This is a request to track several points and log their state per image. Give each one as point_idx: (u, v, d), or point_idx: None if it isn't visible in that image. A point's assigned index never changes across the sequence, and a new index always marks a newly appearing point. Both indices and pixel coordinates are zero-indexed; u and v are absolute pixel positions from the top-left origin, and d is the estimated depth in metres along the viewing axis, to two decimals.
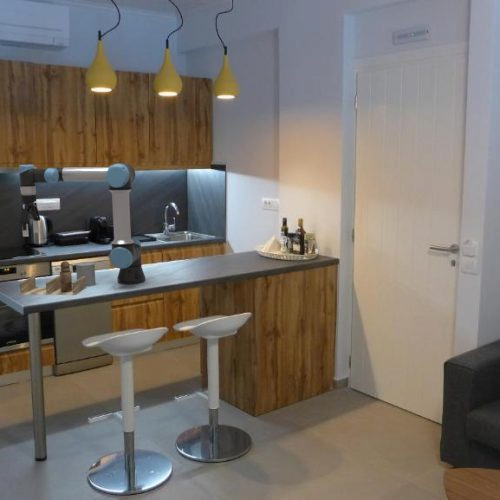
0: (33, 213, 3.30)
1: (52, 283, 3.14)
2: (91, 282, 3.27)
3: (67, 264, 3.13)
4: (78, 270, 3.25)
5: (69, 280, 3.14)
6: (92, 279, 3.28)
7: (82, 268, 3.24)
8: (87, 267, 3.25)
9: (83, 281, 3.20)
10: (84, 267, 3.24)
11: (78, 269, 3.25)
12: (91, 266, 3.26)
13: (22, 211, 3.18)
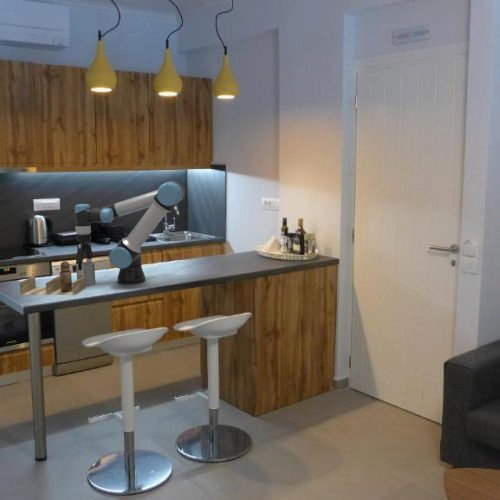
0: (87, 251, 3.31)
1: (52, 283, 3.14)
2: (91, 282, 3.27)
3: (67, 264, 3.13)
4: None
5: (69, 280, 3.14)
6: (92, 279, 3.28)
7: None
8: (87, 267, 3.25)
9: (83, 281, 3.20)
10: (84, 267, 3.24)
11: None
12: (91, 266, 3.26)
13: (78, 251, 3.20)
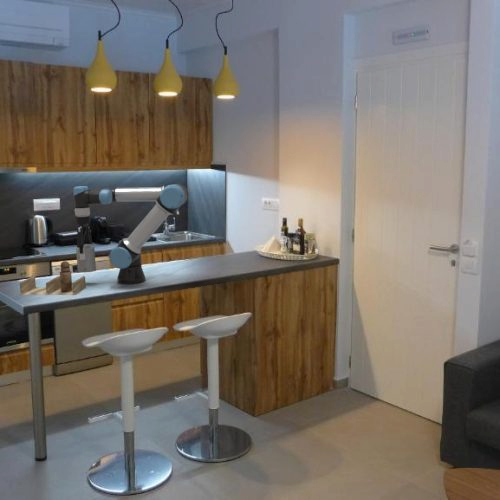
0: (86, 235, 3.29)
1: (52, 283, 3.14)
2: (91, 266, 3.26)
3: (67, 264, 3.13)
4: (78, 254, 3.24)
5: (69, 280, 3.14)
6: (92, 263, 3.26)
7: None
8: (87, 251, 3.23)
9: (83, 281, 3.20)
10: None
11: (78, 253, 3.24)
12: (91, 250, 3.25)
13: (78, 235, 3.19)
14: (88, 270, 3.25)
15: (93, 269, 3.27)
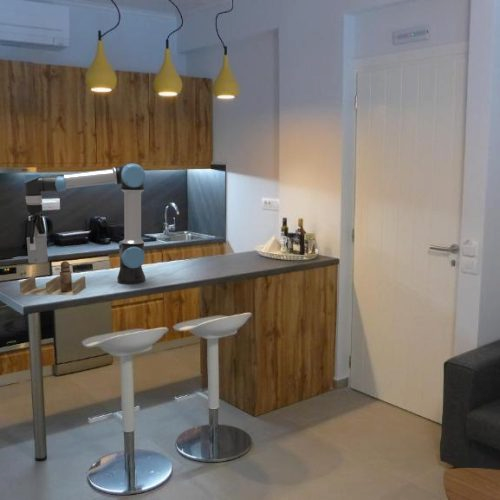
0: (38, 224, 3.13)
1: (52, 283, 3.14)
2: (42, 257, 3.10)
3: (67, 264, 3.13)
4: (28, 244, 3.08)
5: (69, 280, 3.14)
6: (44, 254, 3.10)
7: None
8: (38, 241, 3.07)
9: (83, 281, 3.20)
10: None
11: (28, 243, 3.08)
12: (42, 240, 3.09)
13: (28, 224, 3.03)
14: (39, 261, 3.09)
15: (44, 260, 3.11)
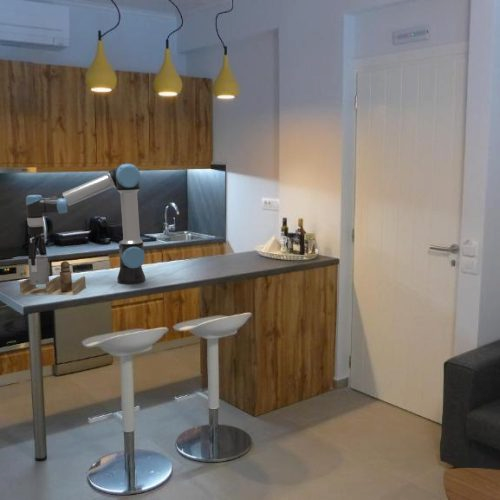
0: (40, 246, 3.15)
1: (52, 283, 3.14)
2: (44, 278, 3.12)
3: (67, 264, 3.13)
4: (30, 265, 3.10)
5: (69, 280, 3.14)
6: (45, 275, 3.12)
7: None
8: (39, 262, 3.09)
9: (83, 281, 3.20)
10: None
11: (29, 264, 3.10)
12: (44, 261, 3.11)
13: (30, 246, 3.05)
14: (40, 282, 3.11)
15: (46, 281, 3.13)
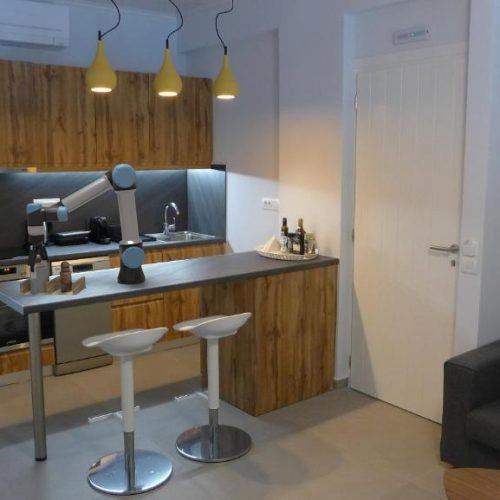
0: (41, 253, 3.17)
1: (52, 283, 3.14)
2: (45, 287, 3.13)
3: (67, 264, 3.13)
4: None
5: (69, 280, 3.14)
6: None
7: None
8: (40, 271, 3.10)
9: (83, 281, 3.20)
10: (37, 271, 3.10)
11: None
12: (45, 270, 3.12)
13: (30, 253, 3.05)
14: (41, 291, 3.12)
15: None
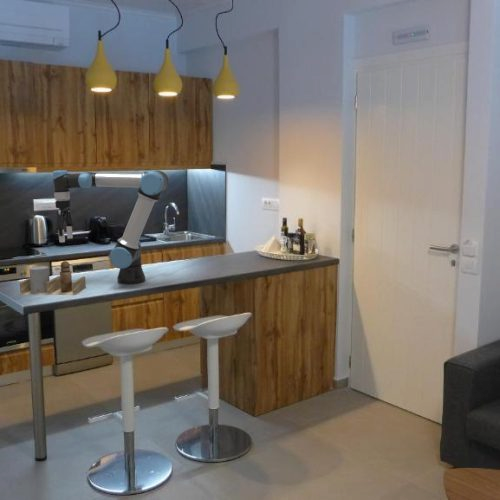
0: (67, 219, 3.29)
1: (52, 283, 3.14)
2: (45, 287, 3.13)
3: (67, 264, 3.13)
4: (31, 274, 3.11)
5: (69, 280, 3.14)
6: None
7: (35, 272, 3.10)
8: (40, 271, 3.10)
9: (83, 281, 3.20)
10: (37, 271, 3.10)
11: (30, 273, 3.11)
12: (45, 270, 3.12)
13: (58, 217, 3.17)
14: (41, 291, 3.12)
15: None
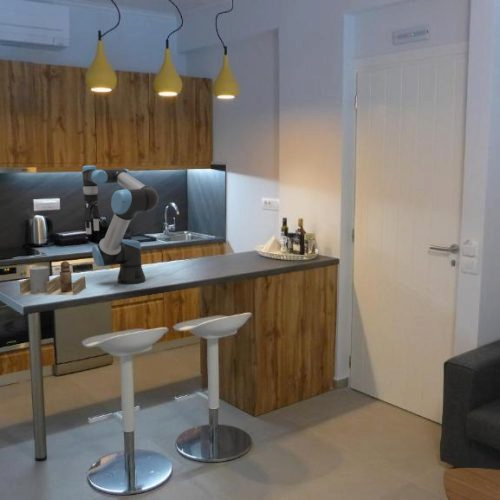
0: (94, 212, 3.46)
1: (52, 283, 3.14)
2: (45, 287, 3.13)
3: (67, 264, 3.13)
4: (31, 274, 3.11)
5: (69, 280, 3.14)
6: None
7: (35, 272, 3.10)
8: (40, 271, 3.10)
9: (83, 281, 3.20)
10: (37, 271, 3.10)
11: (30, 273, 3.11)
12: (45, 270, 3.12)
13: (86, 210, 3.34)
14: (41, 291, 3.12)
15: None
